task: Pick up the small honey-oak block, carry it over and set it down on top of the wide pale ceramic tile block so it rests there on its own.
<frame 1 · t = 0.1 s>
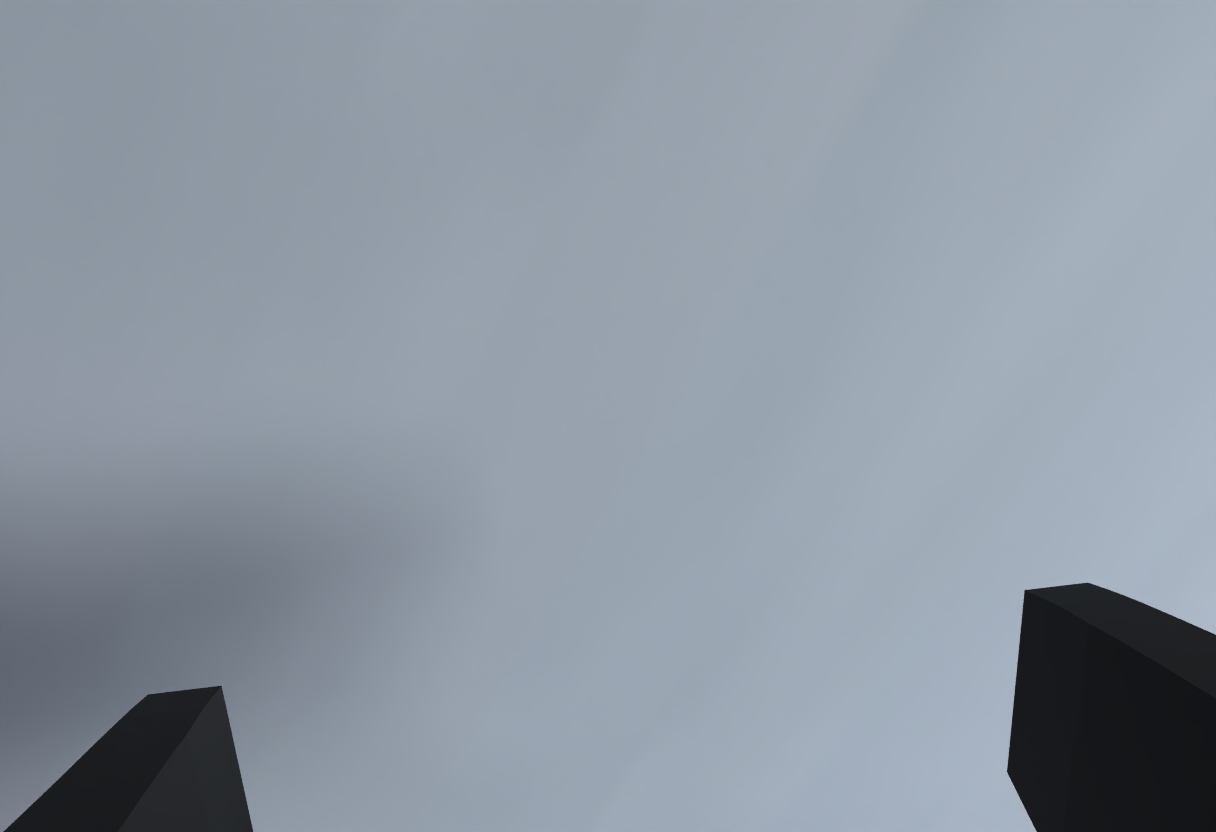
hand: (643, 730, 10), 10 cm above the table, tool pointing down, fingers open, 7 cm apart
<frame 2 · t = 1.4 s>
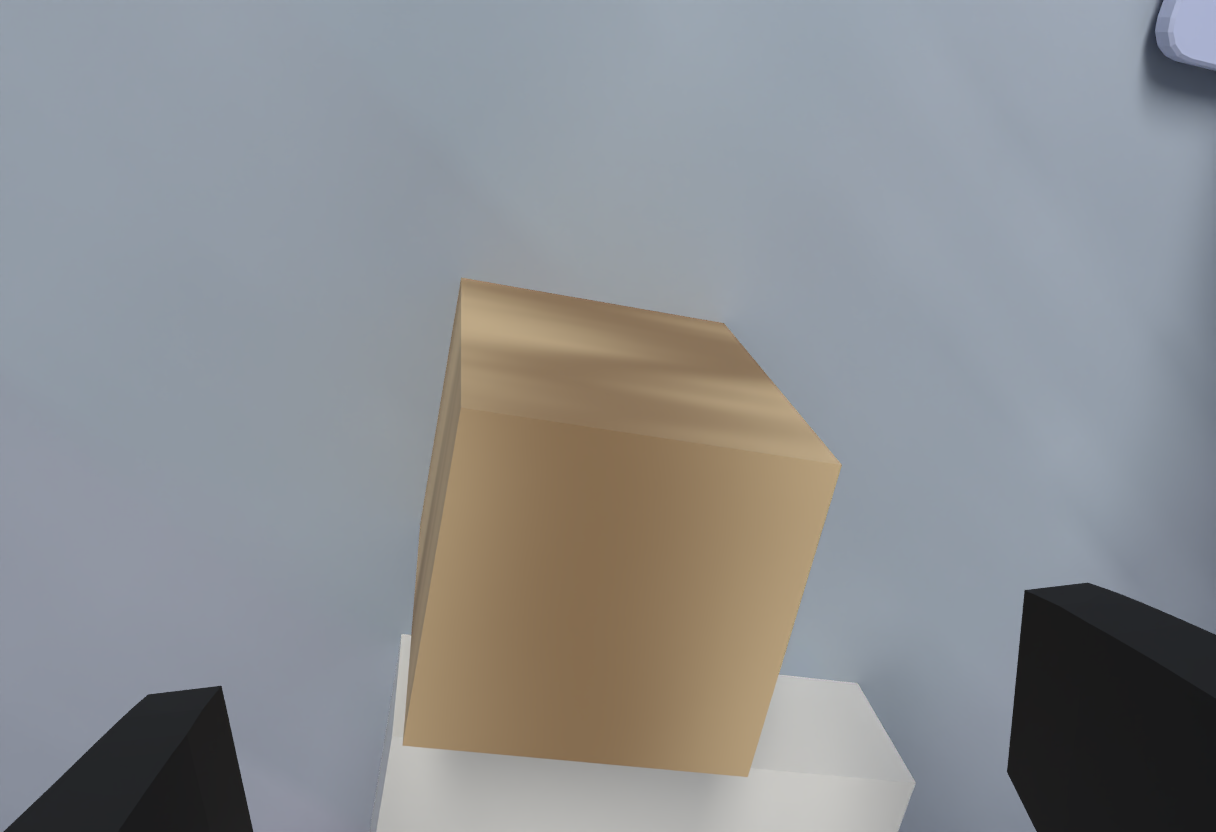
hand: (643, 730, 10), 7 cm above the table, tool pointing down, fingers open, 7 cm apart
oak block: (569, 424, 17), on the table
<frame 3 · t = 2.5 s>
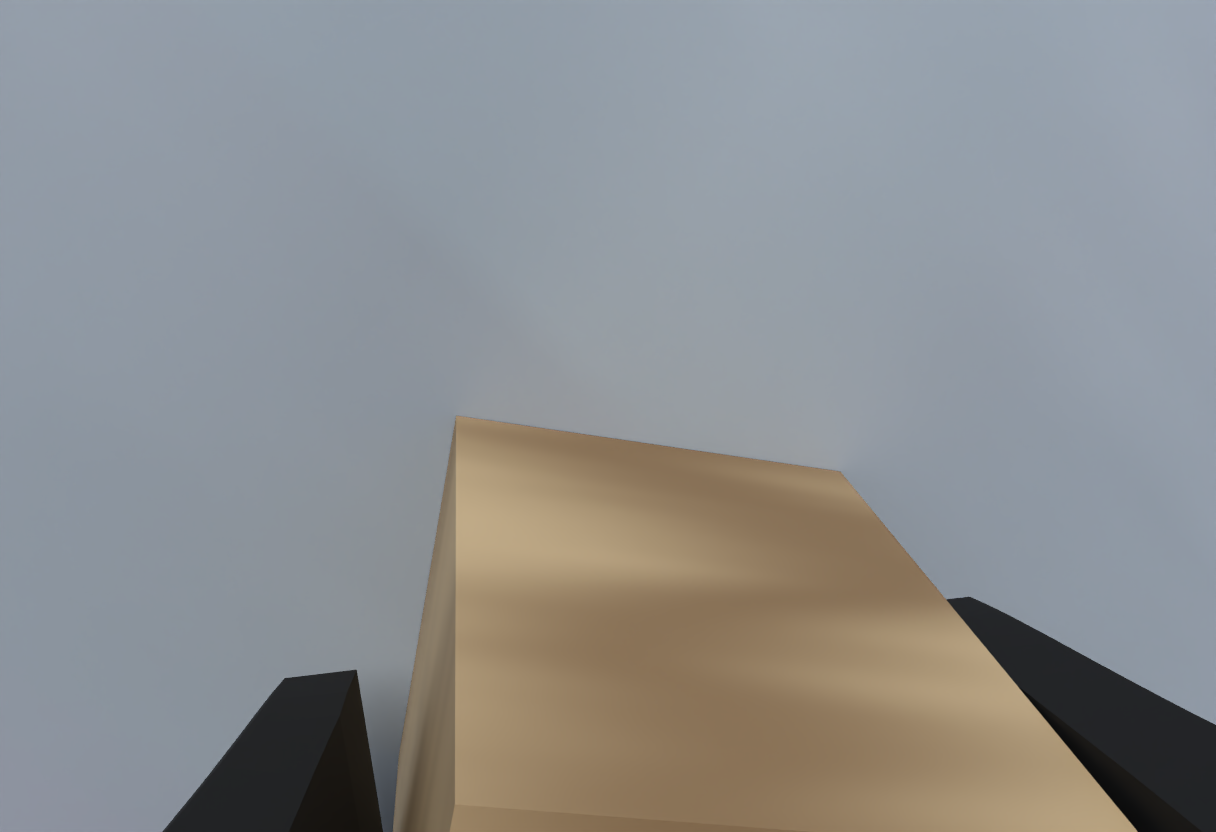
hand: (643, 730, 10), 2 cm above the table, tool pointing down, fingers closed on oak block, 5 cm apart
oak block: (614, 617, 11), on the table, touching gripper
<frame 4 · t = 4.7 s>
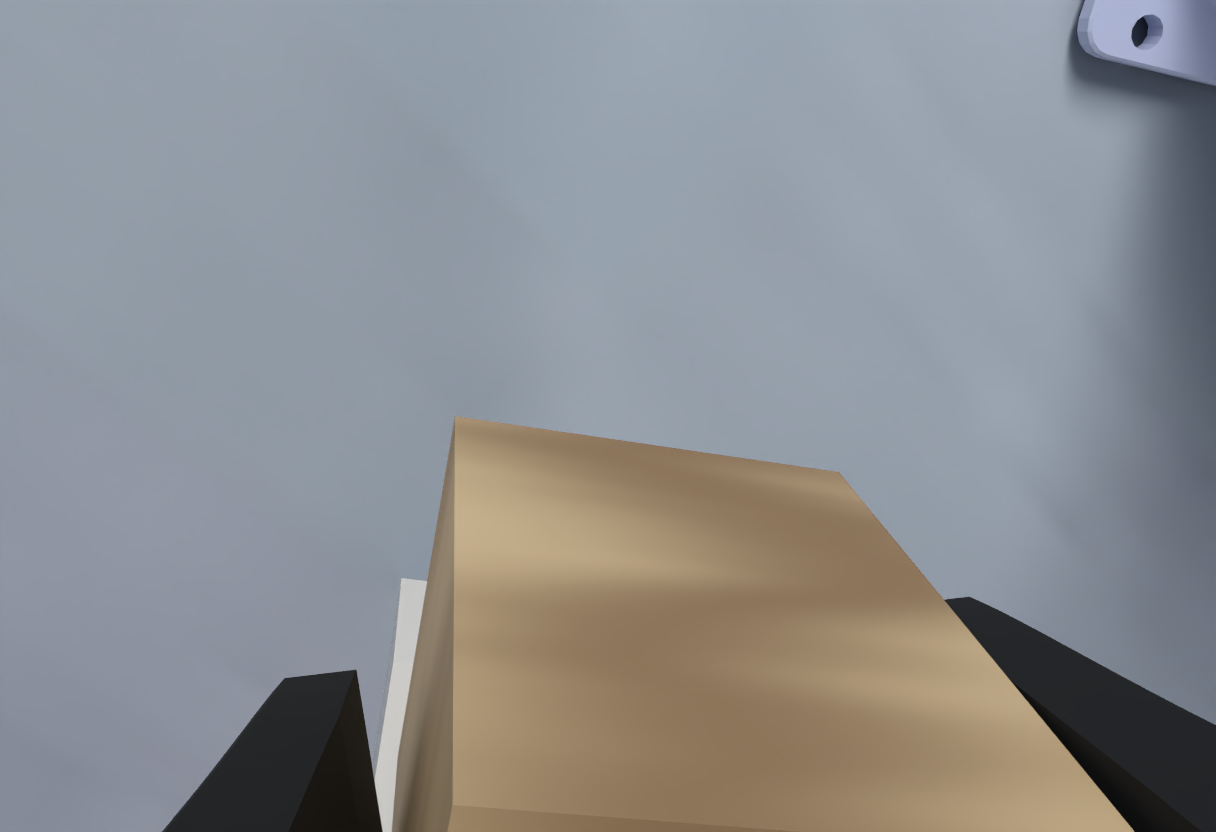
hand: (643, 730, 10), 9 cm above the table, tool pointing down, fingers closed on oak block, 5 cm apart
oak block: (613, 617, 11), point 7 cm above the table, touching gripper
tile block: (575, 766, 22), on the table
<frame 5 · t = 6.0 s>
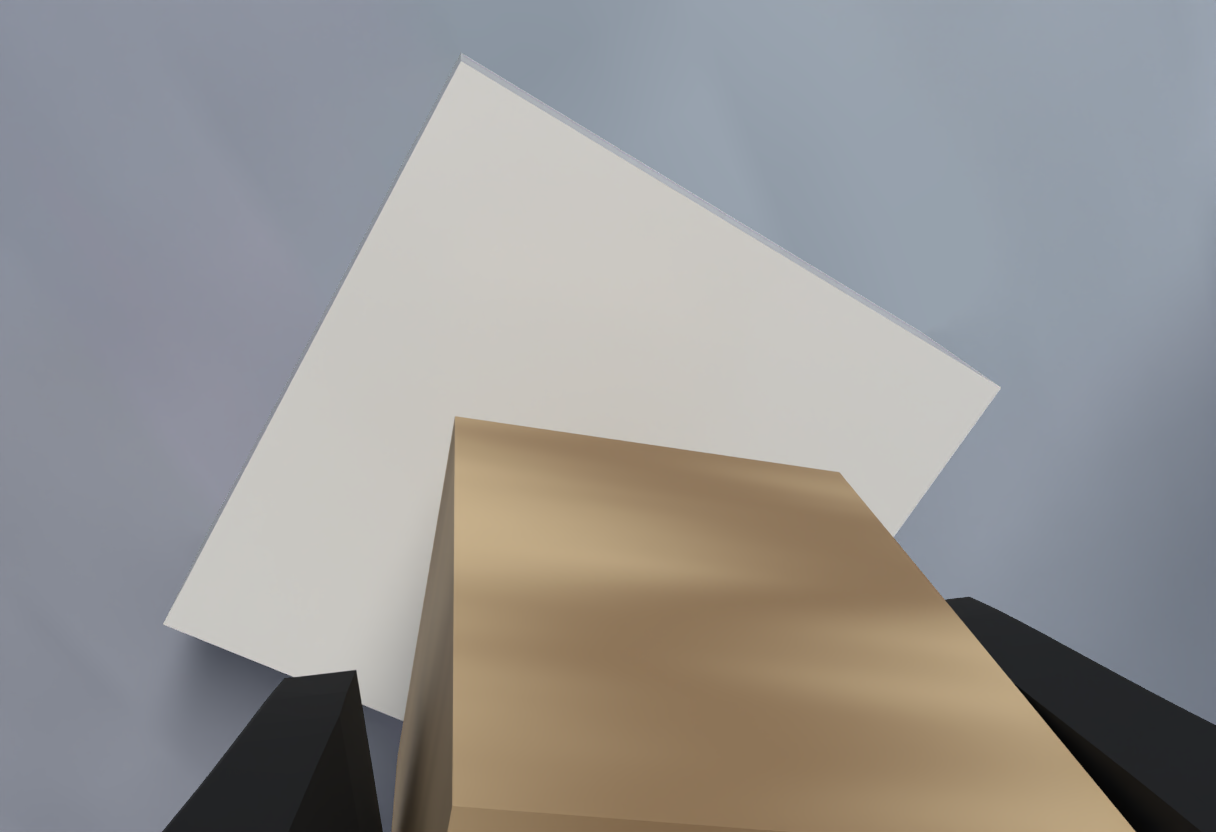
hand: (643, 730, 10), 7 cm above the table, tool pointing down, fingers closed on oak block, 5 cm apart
oak block: (613, 617, 11), point 5 cm above the table, touching gripper
tile block: (566, 422, 17), on the table
when the fingers open (6 cm above the table, at t = 6.8 s): oak block drops 1 cm, point 3 cm above the table.
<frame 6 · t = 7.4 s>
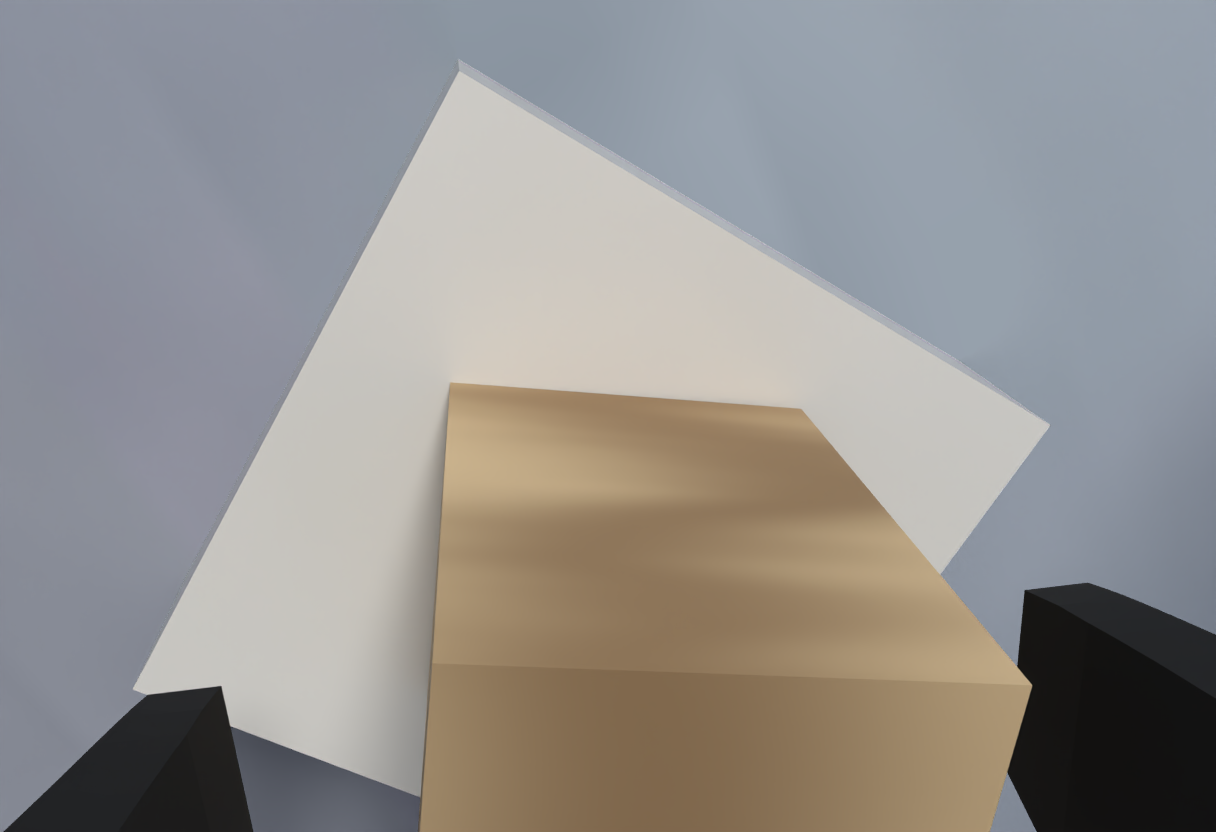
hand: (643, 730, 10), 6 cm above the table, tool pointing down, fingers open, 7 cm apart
oak block: (609, 555, 13), point 3 cm above the table
tile block: (572, 457, 16), on the table
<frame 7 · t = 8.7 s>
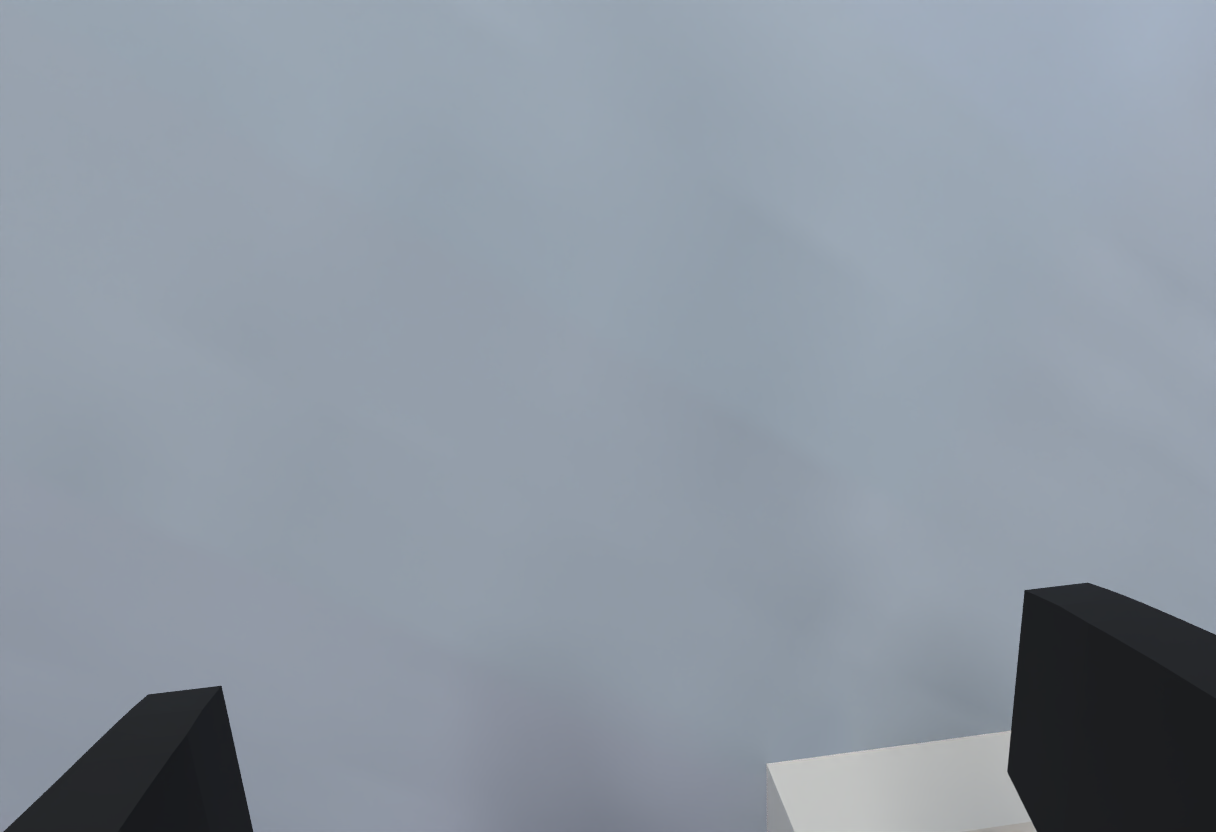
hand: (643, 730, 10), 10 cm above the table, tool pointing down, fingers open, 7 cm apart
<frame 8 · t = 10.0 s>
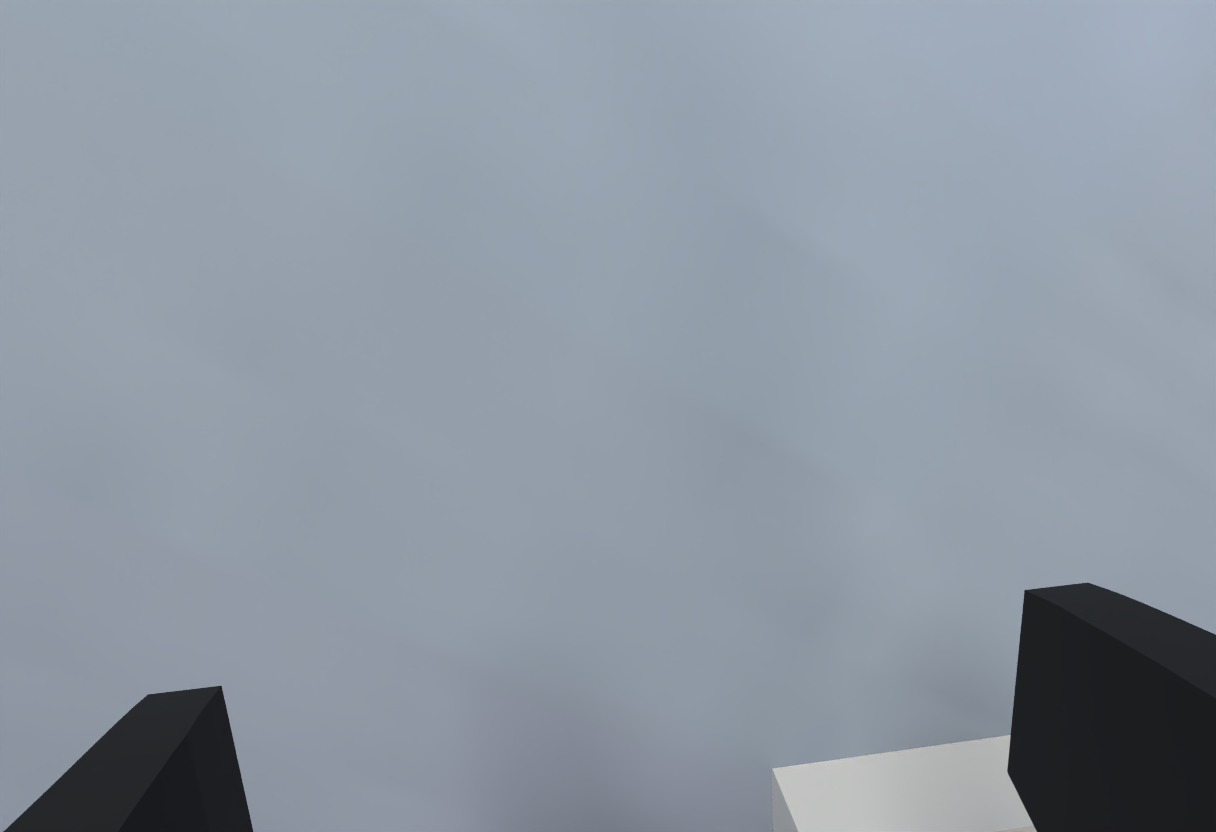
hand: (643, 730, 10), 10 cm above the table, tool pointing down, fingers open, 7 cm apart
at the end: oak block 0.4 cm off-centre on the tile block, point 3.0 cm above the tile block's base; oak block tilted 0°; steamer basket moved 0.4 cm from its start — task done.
